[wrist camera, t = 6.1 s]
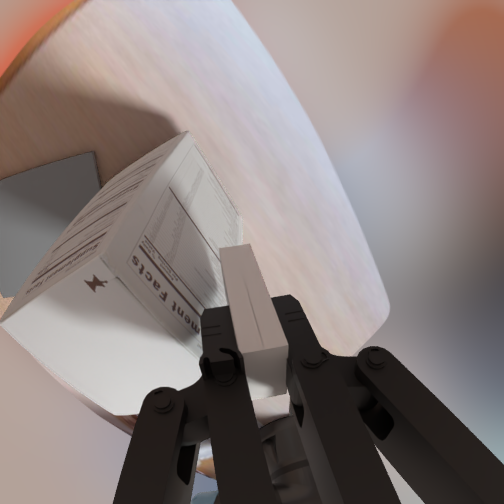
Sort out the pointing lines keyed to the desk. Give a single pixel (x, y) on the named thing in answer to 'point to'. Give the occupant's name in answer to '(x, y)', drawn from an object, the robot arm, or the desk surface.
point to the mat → (40, 213)
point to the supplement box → (132, 280)
